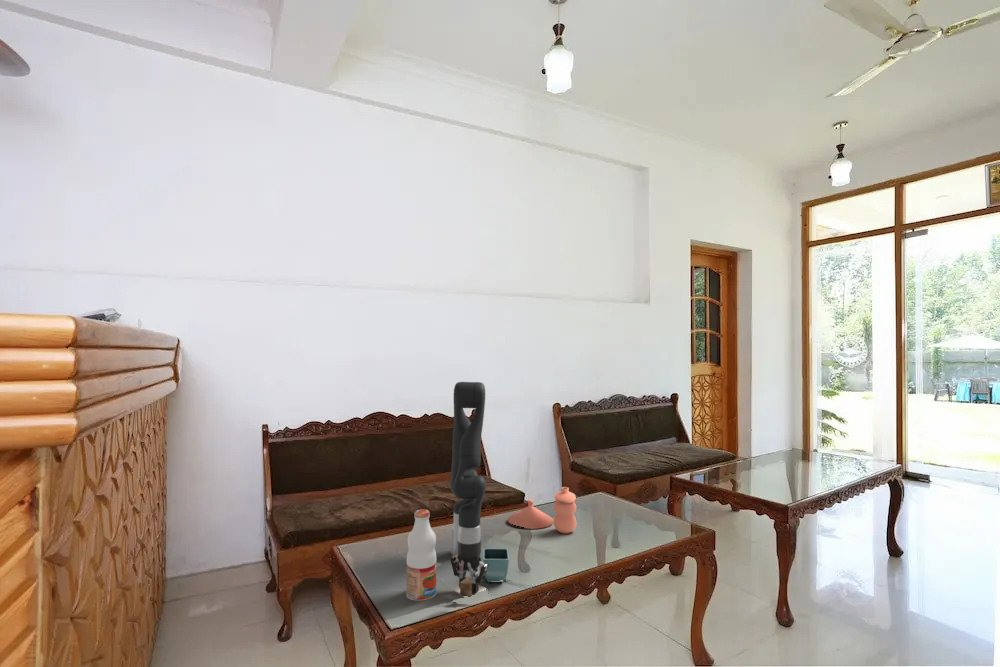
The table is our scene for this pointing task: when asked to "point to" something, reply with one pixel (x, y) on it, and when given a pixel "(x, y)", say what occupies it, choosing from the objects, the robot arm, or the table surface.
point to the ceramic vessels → (538, 519)
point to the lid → (467, 588)
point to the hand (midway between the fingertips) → (468, 591)
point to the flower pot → (496, 563)
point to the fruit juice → (421, 559)
